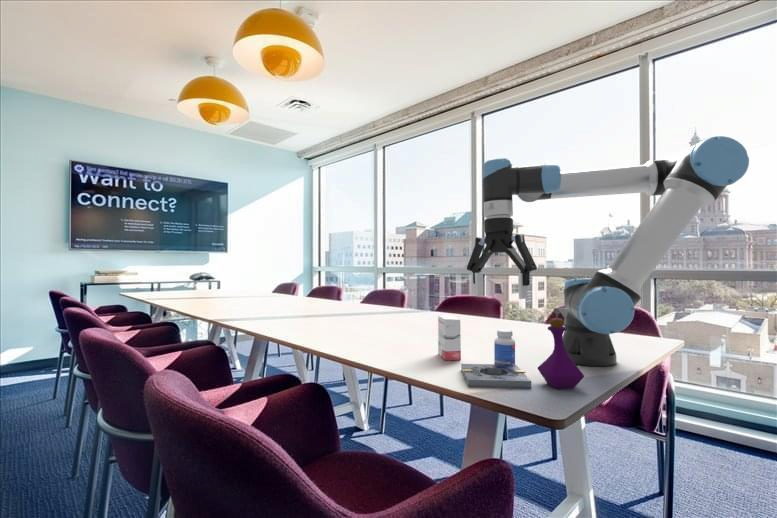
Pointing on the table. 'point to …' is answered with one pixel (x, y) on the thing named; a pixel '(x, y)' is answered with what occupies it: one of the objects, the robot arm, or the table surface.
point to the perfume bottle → (560, 359)
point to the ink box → (449, 338)
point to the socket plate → (507, 378)
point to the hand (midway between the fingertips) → (500, 297)
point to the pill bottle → (504, 348)
